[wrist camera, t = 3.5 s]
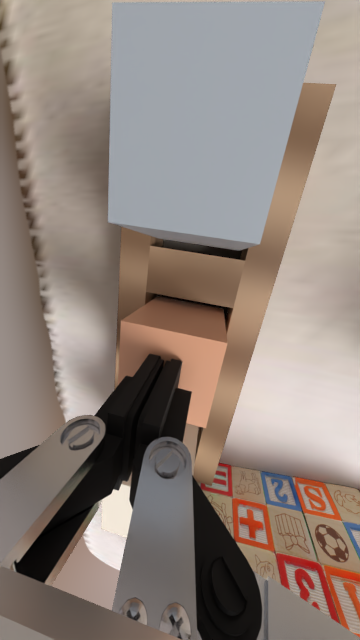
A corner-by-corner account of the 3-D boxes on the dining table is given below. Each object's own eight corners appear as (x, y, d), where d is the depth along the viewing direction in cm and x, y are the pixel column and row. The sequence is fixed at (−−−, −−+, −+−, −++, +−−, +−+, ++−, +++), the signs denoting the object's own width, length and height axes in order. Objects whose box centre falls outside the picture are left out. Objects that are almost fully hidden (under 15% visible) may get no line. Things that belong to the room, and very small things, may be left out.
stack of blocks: (395, 492, 18) (699, 892, 7) (374, 532, 20) (583, 896, 9) (174, 453, 22) (128, 670, 10) (175, 490, 24) (136, 708, 12)
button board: (147, 115, 13) (124, 67, 10) (307, 126, 12) (341, 76, 8) (125, 430, 22) (109, 459, 19) (212, 455, 21) (211, 491, 18)
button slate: (168, 139, 10) (112, 2, 5) (263, 147, 10) (324, 1, 4) (158, 238, 12) (107, 222, 6) (239, 250, 11) (260, 244, 6)
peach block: (157, 296, 15) (120, 320, 9) (223, 309, 14) (227, 343, 8) (151, 353, 16) (116, 404, 11) (209, 367, 16) (205, 428, 10)
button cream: (141, 402, 16) (102, 477, 11) (199, 417, 16) (189, 506, 10) (137, 444, 18) (101, 529, 12) (189, 459, 17) (176, 555, 12)
